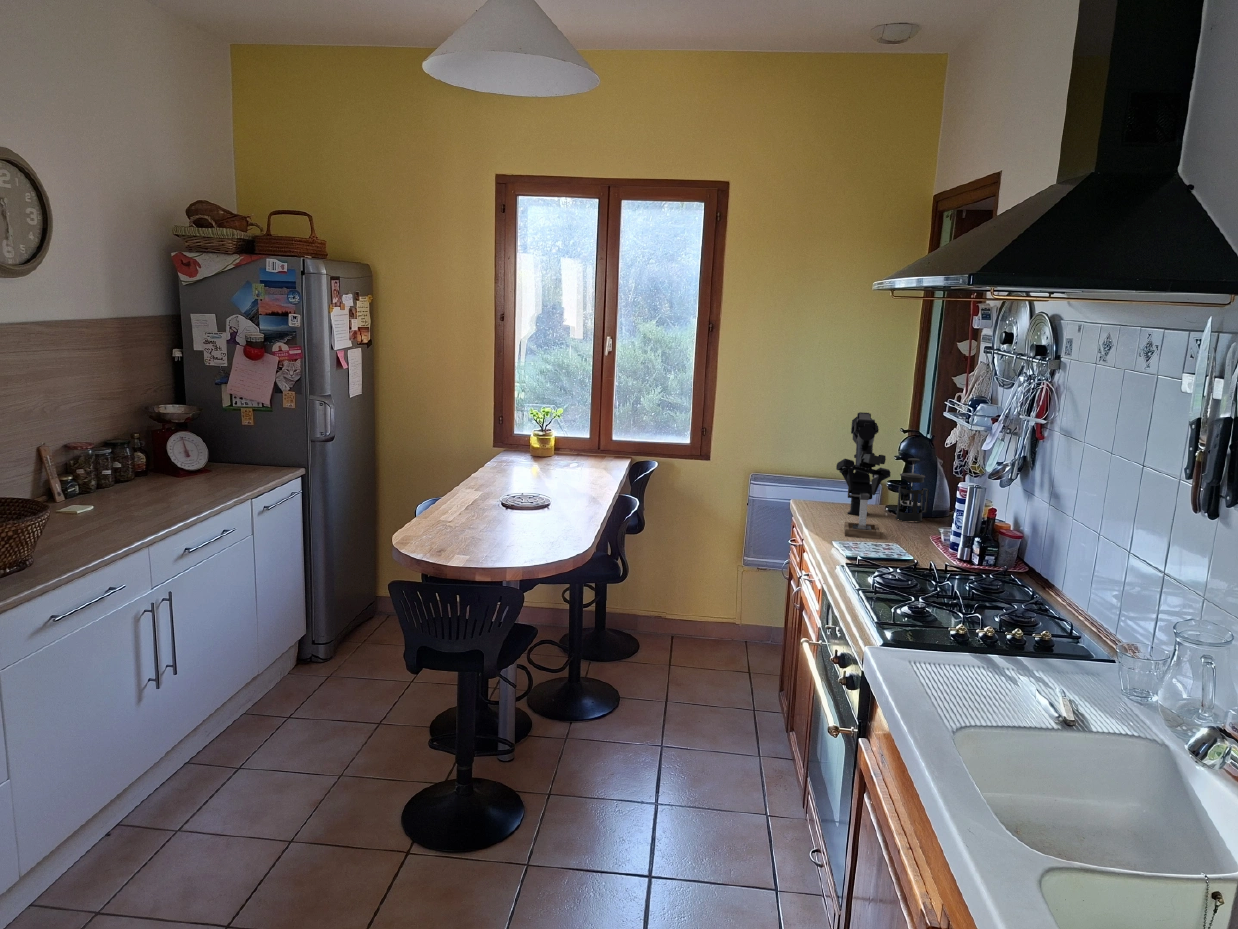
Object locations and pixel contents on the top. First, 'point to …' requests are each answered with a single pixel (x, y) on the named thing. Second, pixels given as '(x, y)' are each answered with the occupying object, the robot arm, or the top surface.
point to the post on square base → (863, 513)
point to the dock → (862, 531)
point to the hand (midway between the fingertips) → (862, 492)
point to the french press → (900, 512)
